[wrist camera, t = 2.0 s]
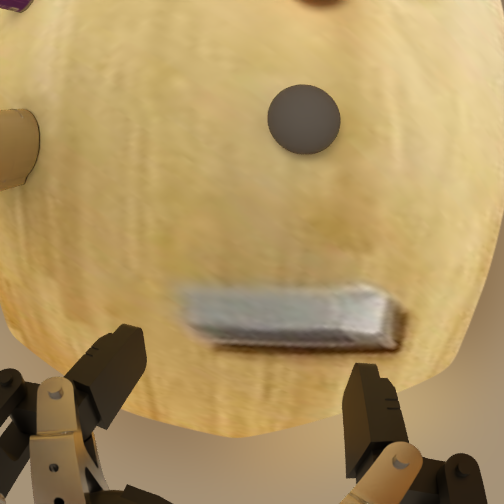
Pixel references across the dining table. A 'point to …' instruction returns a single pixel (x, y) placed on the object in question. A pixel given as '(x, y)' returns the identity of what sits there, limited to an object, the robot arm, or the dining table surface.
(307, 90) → the dark grey ball
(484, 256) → the dining table surface
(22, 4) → the container
